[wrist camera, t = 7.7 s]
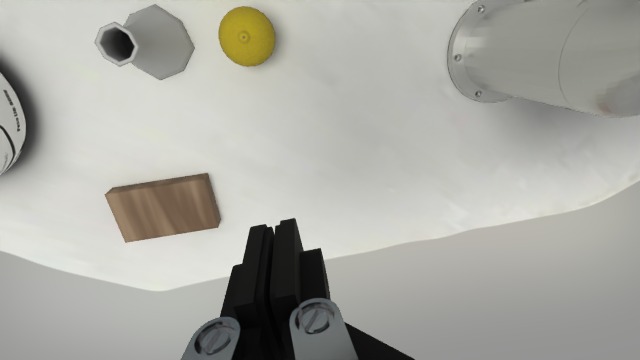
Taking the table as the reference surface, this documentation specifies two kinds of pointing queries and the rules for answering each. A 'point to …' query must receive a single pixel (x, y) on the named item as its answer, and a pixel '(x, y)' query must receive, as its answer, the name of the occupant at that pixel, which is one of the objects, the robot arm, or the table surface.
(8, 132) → the milk container
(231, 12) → the lemon
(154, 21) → the flask
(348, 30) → the table surface
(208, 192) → the walnut slab
